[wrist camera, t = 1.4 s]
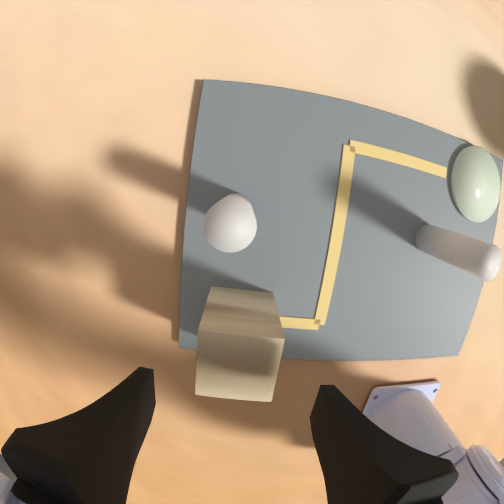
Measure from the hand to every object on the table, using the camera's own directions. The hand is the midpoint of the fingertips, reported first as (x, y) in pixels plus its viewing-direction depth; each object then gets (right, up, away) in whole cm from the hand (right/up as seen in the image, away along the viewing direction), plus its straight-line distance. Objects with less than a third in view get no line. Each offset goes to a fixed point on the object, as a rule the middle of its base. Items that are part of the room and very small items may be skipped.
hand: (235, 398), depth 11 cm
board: (+9, +7, +8) cm, 14 cm away
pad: (+18, +12, +7) cm, 23 cm away
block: (0, +2, +8) cm, 8 cm away
